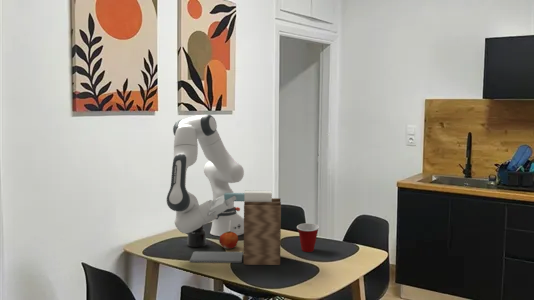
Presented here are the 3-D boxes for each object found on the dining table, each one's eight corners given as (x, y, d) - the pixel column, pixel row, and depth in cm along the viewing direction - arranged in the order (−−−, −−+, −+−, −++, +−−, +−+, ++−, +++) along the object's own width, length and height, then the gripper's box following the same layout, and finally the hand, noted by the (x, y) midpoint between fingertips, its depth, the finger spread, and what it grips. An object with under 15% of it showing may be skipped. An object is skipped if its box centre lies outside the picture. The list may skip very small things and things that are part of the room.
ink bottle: (208, 242, 254) (208, 219, 253) (204, 248, 245) (204, 223, 244) (189, 242, 255) (189, 218, 254) (184, 247, 246) (184, 223, 245)
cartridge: (223, 203, 223) (223, 192, 223) (225, 201, 229) (225, 190, 229) (271, 204, 223) (271, 193, 223) (271, 201, 229) (271, 190, 229)
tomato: (235, 251, 241) (235, 234, 240) (216, 249, 243) (216, 233, 242) (240, 245, 250) (240, 229, 249) (222, 244, 252) (222, 228, 251)
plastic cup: (292, 251, 241) (292, 227, 240) (301, 245, 251) (302, 222, 249) (313, 255, 236) (314, 230, 235) (322, 249, 246) (322, 224, 244)
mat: (189, 262, 224) (189, 260, 224) (193, 253, 237) (193, 251, 237) (241, 262, 224) (241, 260, 224) (243, 253, 237) (243, 251, 237)
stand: (243, 264, 222) (243, 203, 219) (245, 254, 236) (245, 196, 233) (280, 264, 222) (281, 203, 219) (279, 254, 236) (280, 197, 233)
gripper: (202, 210, 216) (231, 194, 215) (208, 200, 236) (234, 186, 236) (210, 222, 217) (238, 207, 216) (215, 212, 237) (240, 197, 236)
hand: (236, 196), depth 226 cm, fingers closed on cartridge, 3 cm apart
